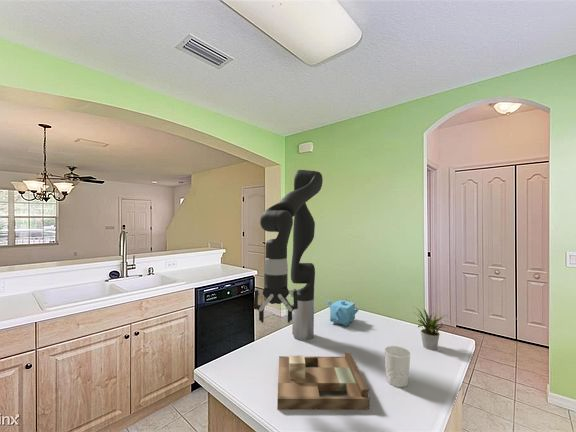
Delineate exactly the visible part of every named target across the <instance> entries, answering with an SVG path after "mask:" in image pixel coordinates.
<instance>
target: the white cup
mask: <svg viewBox="0 0 576 432" xmlns="http://www.w3.org/2000/svg"><path fill="white" fill-rule="evenodd" d="M384 359H385V360H384V363H385V364H384V365H385V380H386V381H387V383H388V384H389V385H392V386H394V387H395V388H396V387H397V388H405V387H408V385H409V377H410V376H409V375H410V365H411V364H410V362H411V352H410V351H409V350H408V349H406V348H405V347H402V346H397V345H388V346H386V347H385V348H384Z"/></svg>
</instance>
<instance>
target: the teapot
mask: <svg viewBox="0 0 576 432" xmlns="http://www.w3.org/2000/svg"><path fill="white" fill-rule="evenodd" d="M325 301H326V302H327V303H328V305H329V306H328V307H329V310H330V311H329V313H330V314H329V315H330V316H329V321H330V323H333V324H334V325H338V324H341V325H343V327H344V328H345V327H348V326H349V325H350V324H352V323H353V321H355V319H356V314H357V312H359V310H360V309H359V308H356V303H355V302H352V301H346V300H340V299H339V300H337V301H335V302H333V303H332V302H331V301H330V300H328V299H326V300H325Z"/></svg>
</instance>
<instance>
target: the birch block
mask: <svg viewBox="0 0 576 432" xmlns="http://www.w3.org/2000/svg"><path fill="white" fill-rule="evenodd" d="M288 356H289V379H305V358H304V356H305V355H288Z"/></svg>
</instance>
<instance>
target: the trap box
mask: <svg viewBox="0 0 576 432" xmlns="http://www.w3.org/2000/svg"><path fill="white" fill-rule="evenodd" d="M289 356H290V355H288V356H287V355H286V356H278V374H277V375H278V378H277V379H278V380H277V382H278V383H277V408H276V409H277V410H370V397H369V388H368V386H367V384H366V382H365V379H364V377H363V375H362V374H361V371H360V370H359V367H358V365H357V363H356V361H355V359H354V358H353V355H352V353H351V352H344V356H308V355H307V356H305V355H303V356H304V358H305V379H289Z"/></svg>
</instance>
